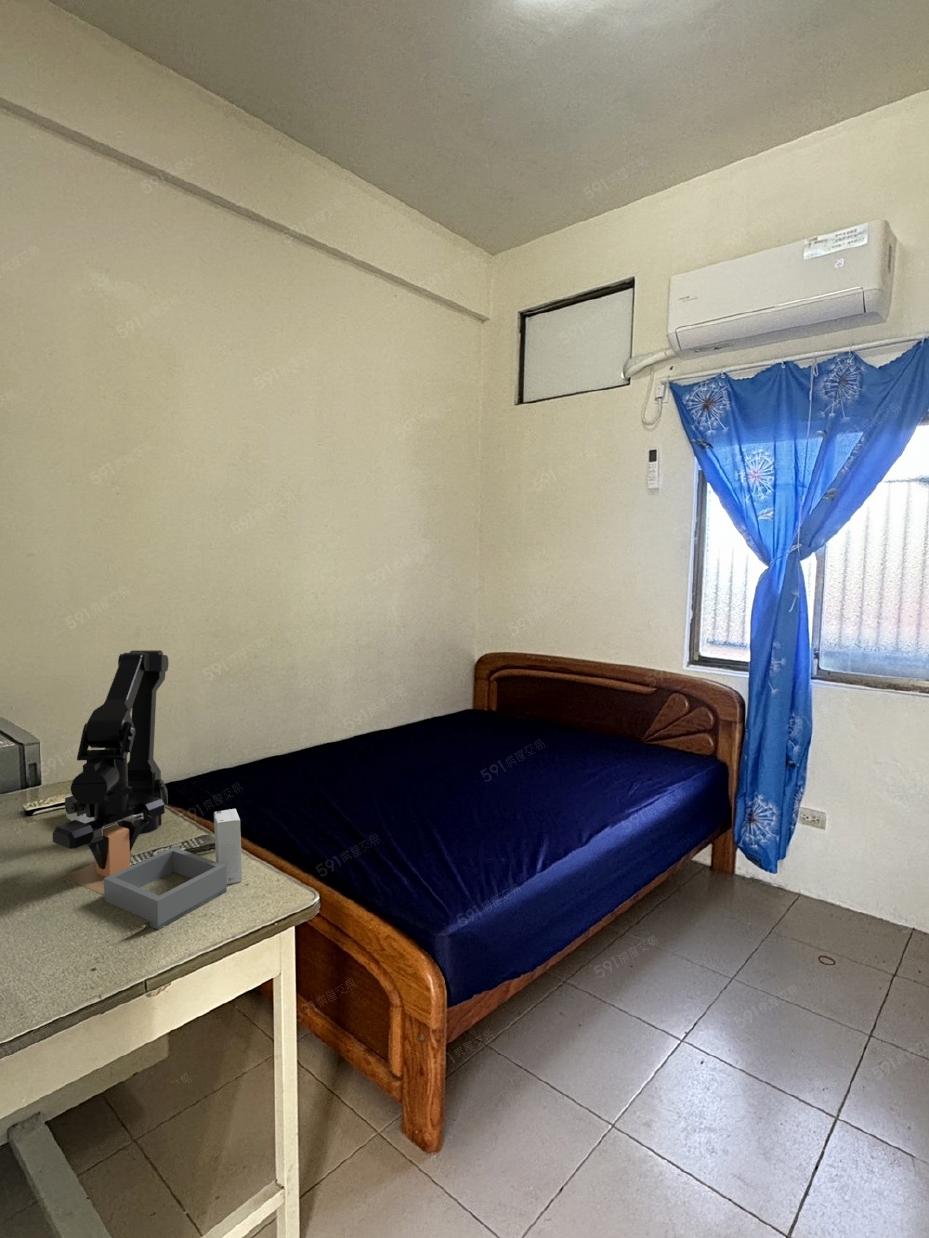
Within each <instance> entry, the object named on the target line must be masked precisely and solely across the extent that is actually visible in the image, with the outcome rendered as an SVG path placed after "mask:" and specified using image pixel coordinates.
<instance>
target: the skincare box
mask: <svg viewBox="0 0 929 1238" xmlns="http://www.w3.org/2000/svg"><path fill="white" fill-rule="evenodd" d="M213 825H214V829H213V830H214V845H215V848H214V849H215V862H218V863H221V864H224V865H226V886H227V885H231V884H237V883H241V882H243V861H242V841H241V840H242V839H241V838H242V837H241V835H242V833H241V819H240V816H239V814H238V812H237V808H232V809H231V808H229V809H224V810H218V811H214V812H213Z"/></svg>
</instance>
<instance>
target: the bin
mask: <svg viewBox="0 0 929 1238" xmlns="http://www.w3.org/2000/svg"><path fill="white" fill-rule="evenodd" d="M173 872H174V873H176V874H179V875H181V876H184V877H187V878H190V879H189V880H187V881H186V882H183V883H181V884H179V885H178V886H176V887H173V888H171V889H170V890H168V891H166V892H163V893H162V894H160V895H158V894H156V893H154V892H151V891H149V890H146V889H144V888H142V887H144V886H147V885H148V884H150V883H152V882H154V881H156V880H158V879H160V878H162V877H165V876H167V875H169V874H171V873H173ZM227 889H228V887H227V885H226V865H224V864H221V863H218V862H216V860H215V861H214V860H213V859H209V858H206V857H203V856H201V855H199V854H195V853H193V852H190V851H187V850H184V849H181V848H179V847H176V846H172V847H171V848H169V849H166V850H164V851H162V852H159V853H158V854H155V855H153V856H150V857H149V858H146V859H145V860H144V861H141V862H139V863H137V864H135V865H132V866H130V867H128V868H126V869H124V870H121V871H119V872H117V873H115V874H112V875H110V876H108V877H106V878H104V896H103V897H104V900H103V901H104V902H106V903H108V904H112V905H113V906H115V907H117V908H119V909H122V910H123V911H126V912H128V913H131V914H133V915H135V916H138V917H140V918H142V919H145V920H146V921H147V922H146V923H145V925H146V926H148V927H150V926H152V927H153V928H152V927H151V928H152V929H154V928H156V929H155V930H157V929H158V930H157V931H159V929H160V928H161V929H163V928H164V927H163V926H165V927H167V926H168V925H170V924H172V923H174V922H176V921H177V920H179V919H181V918H183V917H184V916H186V915H188V914H190V913H191V912H193V911H195V910H197V909H199V908H200V907H202V906H204V905H206V904H208V903H209V902H211V901H213V900H214V899H216V898H218V897H220V896H222V895H223V894H225V893H227ZM187 913H188V914H187ZM185 914H186V915H185ZM166 925H167V926H166ZM162 927H163V928H162ZM161 929H160V930H161Z"/></svg>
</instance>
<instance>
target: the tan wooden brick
mask: <svg viewBox="0 0 929 1238" xmlns="http://www.w3.org/2000/svg"><path fill="white" fill-rule="evenodd" d="M103 836H106V837H108V848H107V861H106V866H105V869H100V868H99V866H98V864H97V862H95V863H96V866H97V874H100V875H102V876H105V877H108V876H110V875H112V874H115V873H117V872H119V871H121V870H124V869H126V868H128V867H130V854H131V851H130V844H129V829H127V828H125V827H122V826H119V825H118V824H117V823H116V824H113V825H110V826H108V827H105V828H103Z"/></svg>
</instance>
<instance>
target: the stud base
mask: <svg viewBox="0 0 929 1238" xmlns="http://www.w3.org/2000/svg"><path fill="white" fill-rule="evenodd" d="M133 856H136V855H134V854H131V853H130V858H131V857H133ZM62 878H64V879H66V880H68V881H70V882H72V883H75V884H78V885H80V886H82V887H84V888H87V889H89V890H91V891H93V892H95V893H96V894H97V893H98V894H99V895H102V896H103V895H104V878H106V877H105V876H102V875H100V874H97V866H96V862H94V863H91V864H90V865H87V866H84V867H82V868H80V869H77V870H74V871H73V872H71V873H68V874H66V875H63V876H62Z"/></svg>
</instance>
